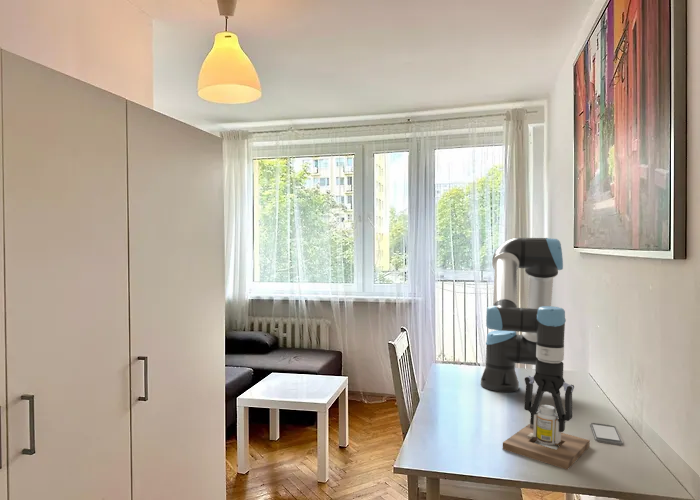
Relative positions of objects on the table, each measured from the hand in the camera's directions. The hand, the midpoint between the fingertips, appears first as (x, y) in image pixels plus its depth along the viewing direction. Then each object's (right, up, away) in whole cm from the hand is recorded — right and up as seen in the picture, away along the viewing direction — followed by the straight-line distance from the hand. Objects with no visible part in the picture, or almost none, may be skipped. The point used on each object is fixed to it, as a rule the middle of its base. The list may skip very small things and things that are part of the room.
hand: (546, 438), depth 142 cm
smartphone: (+23, -4, +11) cm, 26 cm away
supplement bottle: (0, -1, 0) cm, 1 cm away
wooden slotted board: (0, -3, 0) cm, 3 cm away
